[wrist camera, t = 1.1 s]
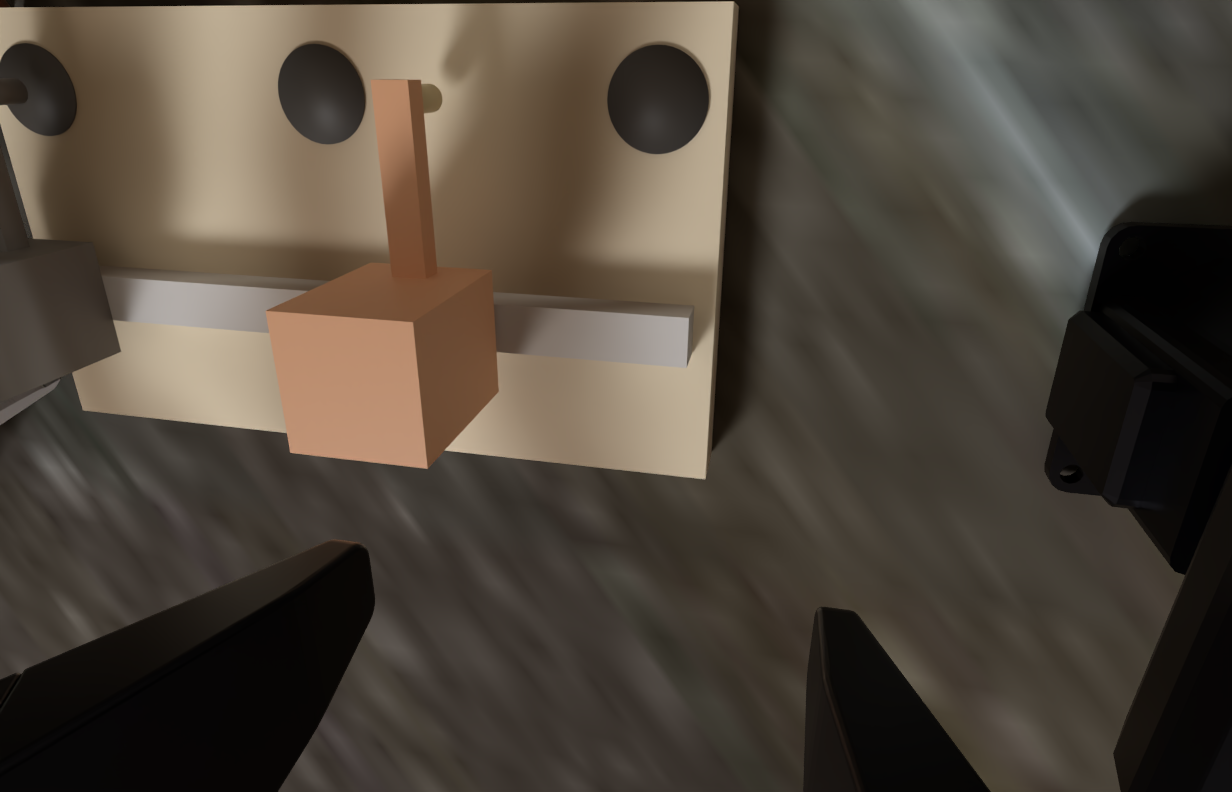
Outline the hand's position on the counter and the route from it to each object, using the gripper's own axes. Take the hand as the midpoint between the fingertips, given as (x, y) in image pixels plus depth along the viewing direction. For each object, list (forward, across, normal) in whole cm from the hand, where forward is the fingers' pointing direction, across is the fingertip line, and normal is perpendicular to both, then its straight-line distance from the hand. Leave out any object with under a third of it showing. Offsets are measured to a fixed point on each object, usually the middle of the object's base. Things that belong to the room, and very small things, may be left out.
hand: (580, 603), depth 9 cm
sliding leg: (+10, +6, -2) cm, 12 cm away
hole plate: (+12, +9, -2) cm, 15 cm away
